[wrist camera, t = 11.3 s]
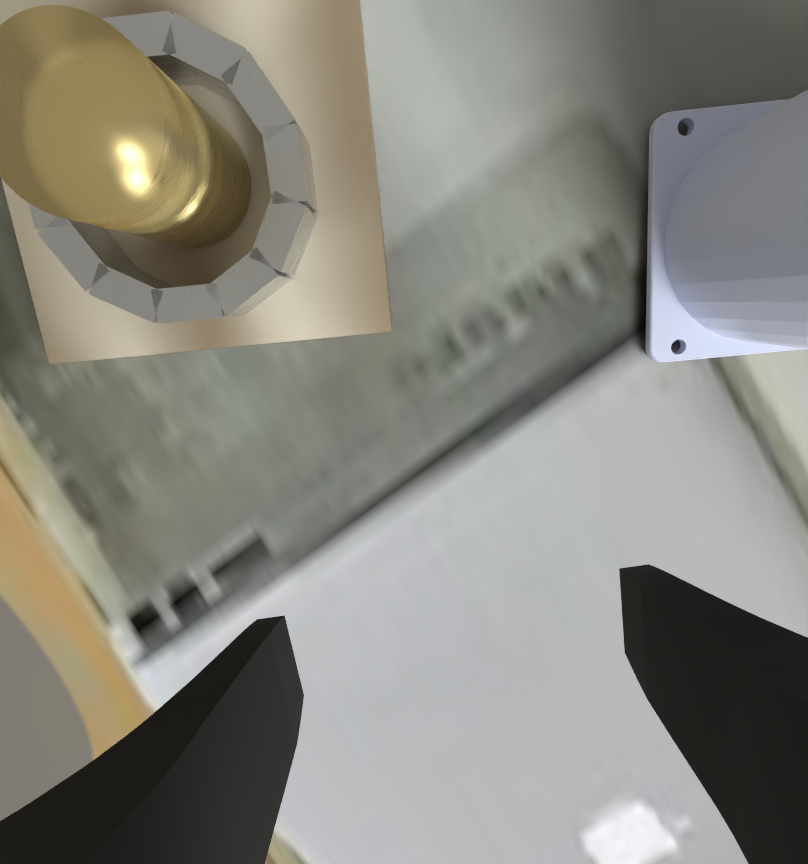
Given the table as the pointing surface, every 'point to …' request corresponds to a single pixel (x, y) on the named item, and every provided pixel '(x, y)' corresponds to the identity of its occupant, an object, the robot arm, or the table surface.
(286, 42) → the board
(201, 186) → the brass knob
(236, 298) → the pipe sockets
